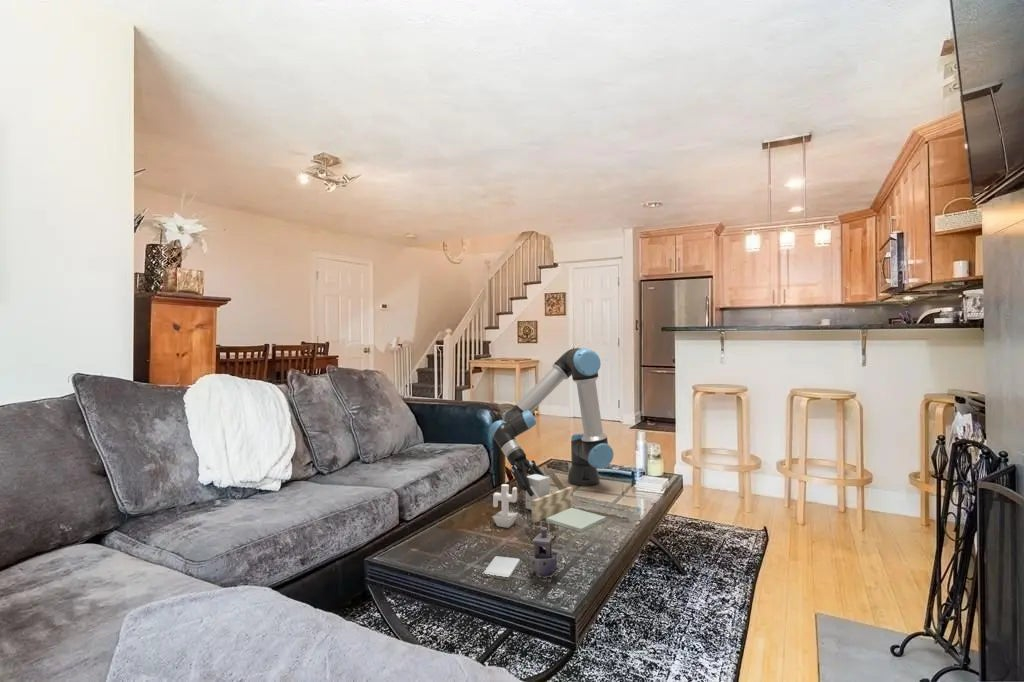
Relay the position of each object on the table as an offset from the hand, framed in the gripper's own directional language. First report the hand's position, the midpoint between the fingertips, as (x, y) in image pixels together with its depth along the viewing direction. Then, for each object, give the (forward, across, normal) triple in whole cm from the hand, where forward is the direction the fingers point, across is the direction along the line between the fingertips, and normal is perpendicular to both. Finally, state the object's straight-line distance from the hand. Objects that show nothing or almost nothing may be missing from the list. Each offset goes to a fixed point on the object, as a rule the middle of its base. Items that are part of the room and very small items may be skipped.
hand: (544, 499), depth 202 cm
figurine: (+2, +21, -4) cm, 22 cm away
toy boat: (+28, +42, +21) cm, 55 cm away
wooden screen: (+7, 0, 0) cm, 7 cm away
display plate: (+14, 0, +8) cm, 16 cm away
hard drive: (+20, +48, +12) cm, 53 cm away
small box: (+1, 0, -6) cm, 6 cm away
